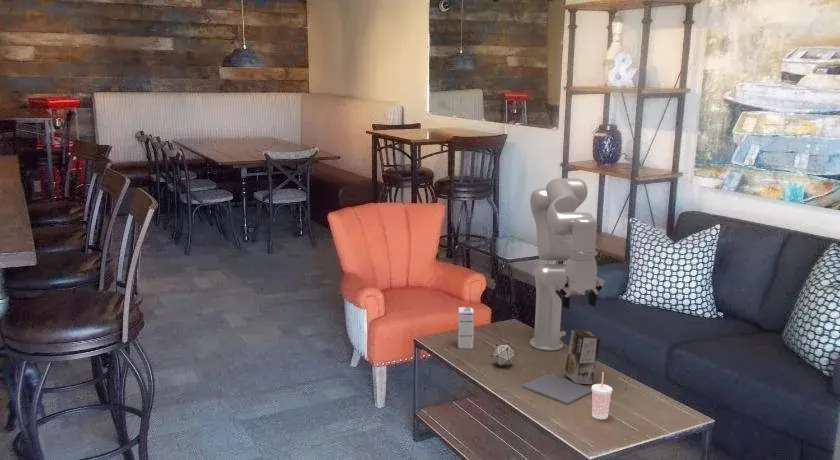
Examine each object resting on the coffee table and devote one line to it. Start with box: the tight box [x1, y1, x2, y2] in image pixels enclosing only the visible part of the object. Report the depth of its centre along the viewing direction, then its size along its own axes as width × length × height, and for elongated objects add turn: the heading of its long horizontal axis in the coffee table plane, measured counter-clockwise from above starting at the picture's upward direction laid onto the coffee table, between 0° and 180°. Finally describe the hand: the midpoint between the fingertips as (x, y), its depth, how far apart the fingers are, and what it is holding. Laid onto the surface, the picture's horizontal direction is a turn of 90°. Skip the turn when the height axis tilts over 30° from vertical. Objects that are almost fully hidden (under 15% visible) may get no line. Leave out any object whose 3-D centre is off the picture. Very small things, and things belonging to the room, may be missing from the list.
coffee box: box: [564, 328, 601, 385], centre depth 244 cm, size 9×6×16 cm
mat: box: [521, 373, 592, 406], centre depth 237 cm, size 15×18×1 cm
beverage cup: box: [591, 371, 613, 420], centre depth 217 cm, size 6×6×14 cm
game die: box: [490, 342, 518, 368], centre depth 256 cm, size 9×8×10 cm
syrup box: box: [457, 306, 475, 350], centre depth 273 cm, size 6×6×14 cm
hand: (578, 306), depth 236 cm, fingers open, 9 cm apart
